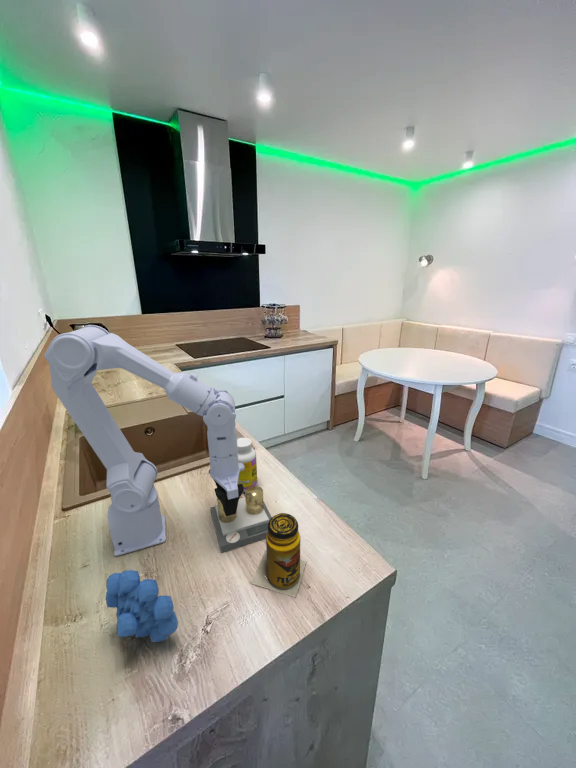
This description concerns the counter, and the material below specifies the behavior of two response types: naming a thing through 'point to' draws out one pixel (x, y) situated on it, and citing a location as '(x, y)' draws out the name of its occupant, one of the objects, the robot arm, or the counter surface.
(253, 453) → the supplement bottle
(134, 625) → the grapes
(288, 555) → the condiment
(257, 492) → the cylinder
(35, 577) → the counter surface
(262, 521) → the scale
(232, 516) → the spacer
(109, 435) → the robot arm
